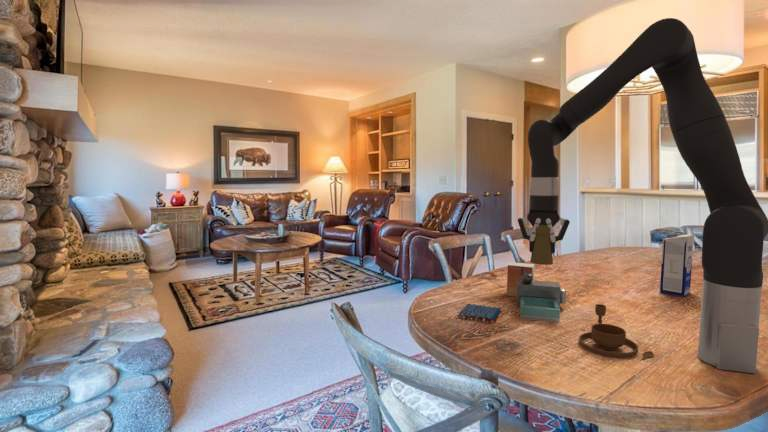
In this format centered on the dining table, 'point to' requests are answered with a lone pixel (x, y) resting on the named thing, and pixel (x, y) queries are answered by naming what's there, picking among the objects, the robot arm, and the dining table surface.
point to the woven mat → (480, 313)
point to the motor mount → (539, 299)
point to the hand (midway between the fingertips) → (541, 254)
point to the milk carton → (676, 264)
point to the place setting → (609, 338)
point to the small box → (517, 275)
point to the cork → (542, 246)
